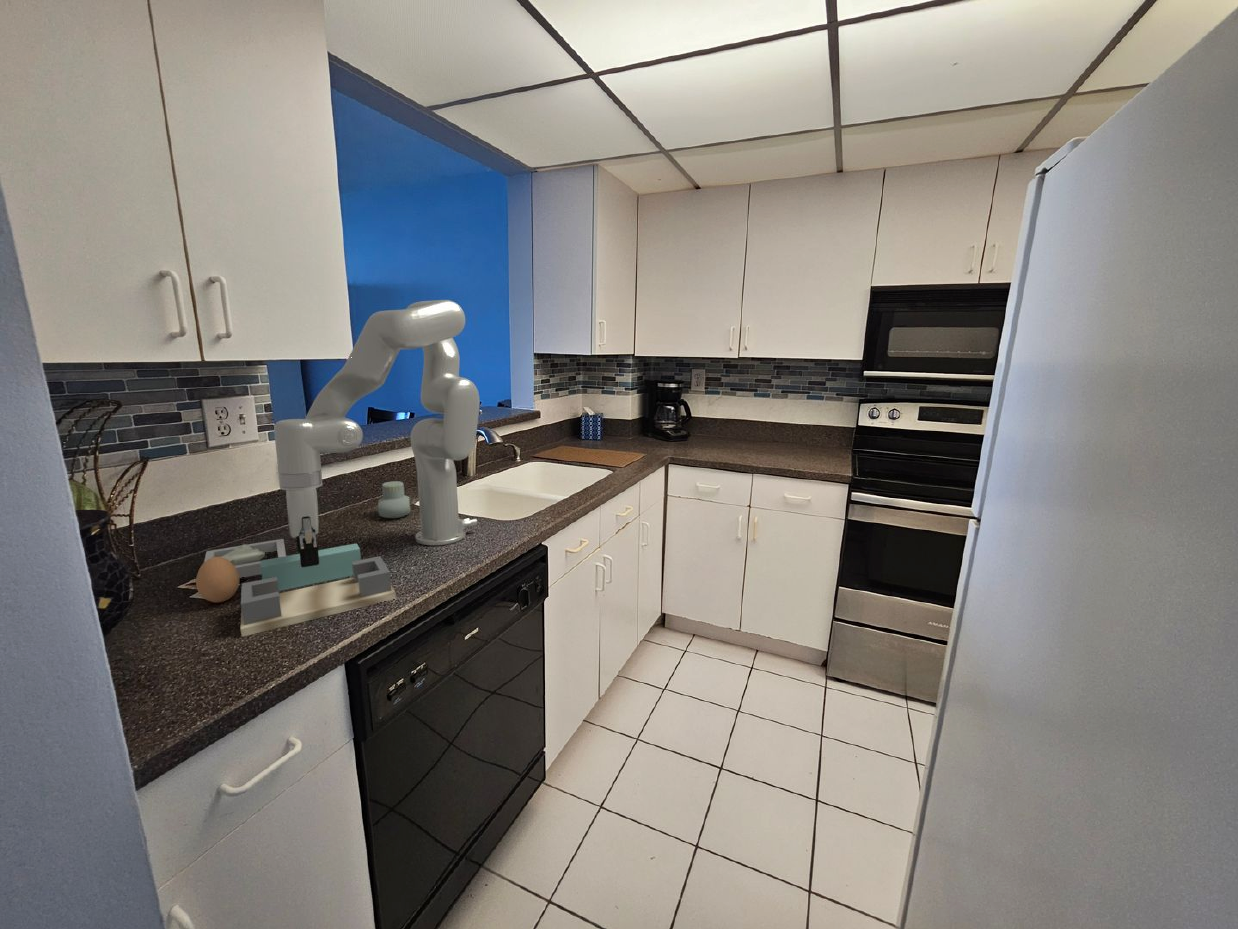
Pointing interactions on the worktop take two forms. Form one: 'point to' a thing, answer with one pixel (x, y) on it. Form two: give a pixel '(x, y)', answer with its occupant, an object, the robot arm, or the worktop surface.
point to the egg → (217, 579)
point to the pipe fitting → (244, 555)
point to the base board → (316, 604)
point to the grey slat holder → (265, 600)
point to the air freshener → (393, 500)
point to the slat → (311, 567)
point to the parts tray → (254, 567)
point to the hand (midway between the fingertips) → (308, 558)
